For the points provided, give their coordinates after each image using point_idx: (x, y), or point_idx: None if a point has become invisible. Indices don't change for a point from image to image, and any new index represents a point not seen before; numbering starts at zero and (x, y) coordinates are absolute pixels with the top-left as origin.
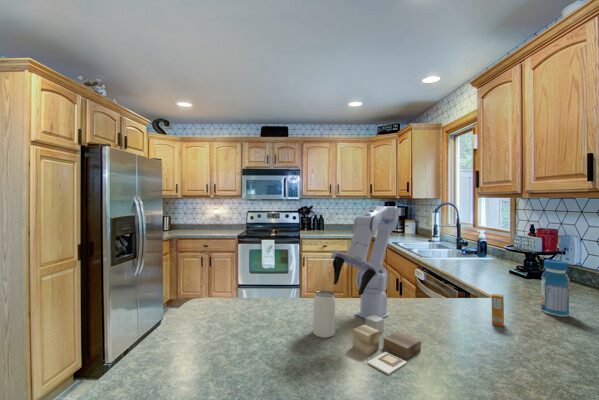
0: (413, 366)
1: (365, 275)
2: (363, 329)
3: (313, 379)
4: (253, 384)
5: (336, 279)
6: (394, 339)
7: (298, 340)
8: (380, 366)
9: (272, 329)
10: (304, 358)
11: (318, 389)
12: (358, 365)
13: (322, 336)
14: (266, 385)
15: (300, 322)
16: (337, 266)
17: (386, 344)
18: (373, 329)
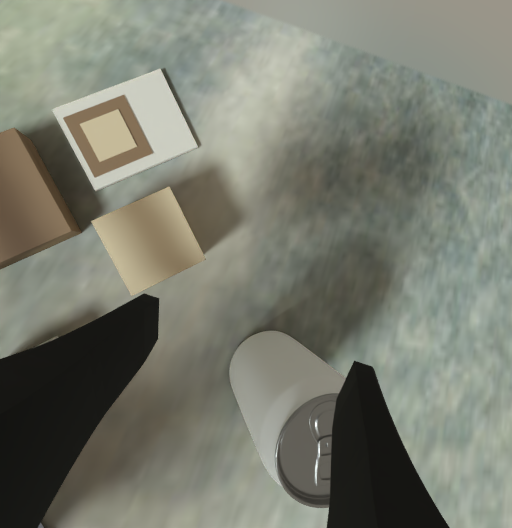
0: (38, 90)
1: (33, 434)
2: (160, 247)
3: (374, 116)
4: (500, 136)
5: (373, 377)
6: (26, 209)
7: (361, 327)
8: (167, 109)
9: (421, 412)
10: (370, 218)
11: (374, 74)
12: (230, 145)
13: (284, 333)
14: (476, 124)
15: None
16: (431, 499)
17: (70, 218)
18: (112, 239)
